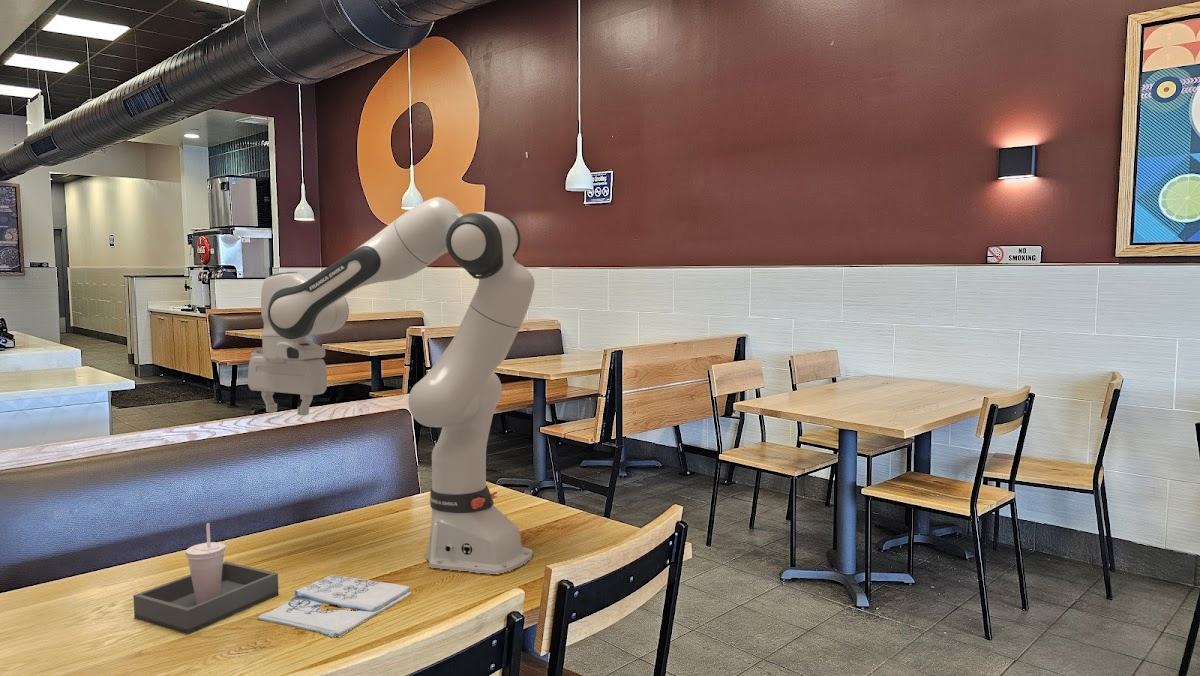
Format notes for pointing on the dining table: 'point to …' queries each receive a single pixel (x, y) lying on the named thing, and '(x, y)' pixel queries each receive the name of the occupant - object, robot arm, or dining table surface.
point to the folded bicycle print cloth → (336, 592)
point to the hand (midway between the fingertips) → (287, 413)
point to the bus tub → (181, 612)
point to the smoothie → (206, 568)
